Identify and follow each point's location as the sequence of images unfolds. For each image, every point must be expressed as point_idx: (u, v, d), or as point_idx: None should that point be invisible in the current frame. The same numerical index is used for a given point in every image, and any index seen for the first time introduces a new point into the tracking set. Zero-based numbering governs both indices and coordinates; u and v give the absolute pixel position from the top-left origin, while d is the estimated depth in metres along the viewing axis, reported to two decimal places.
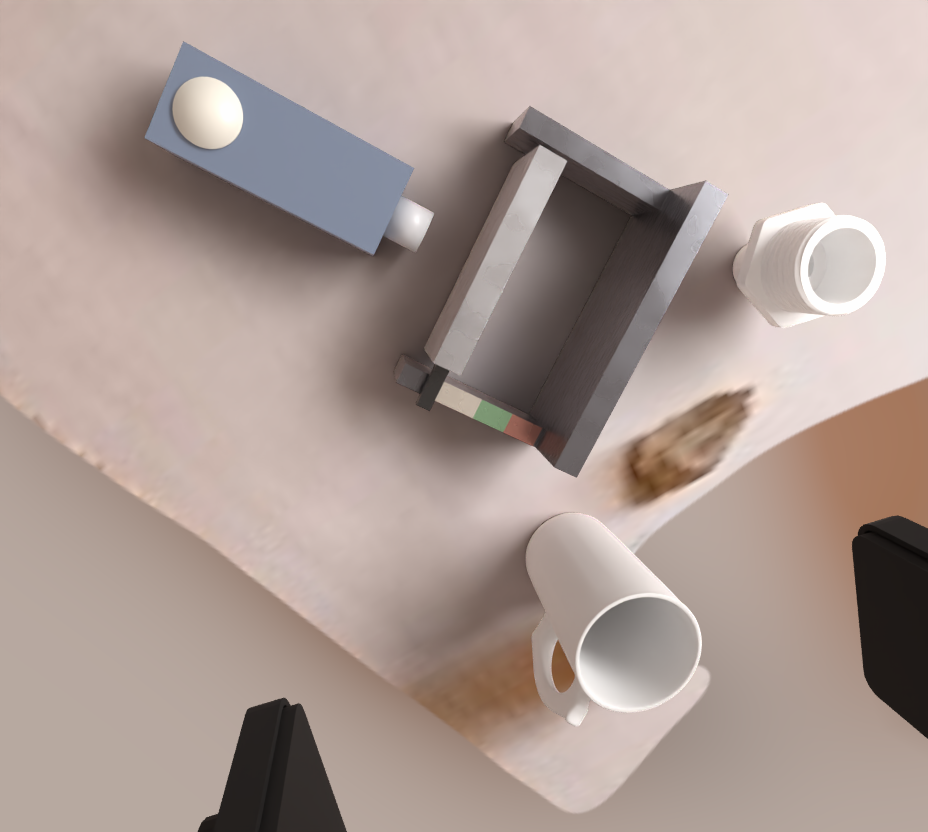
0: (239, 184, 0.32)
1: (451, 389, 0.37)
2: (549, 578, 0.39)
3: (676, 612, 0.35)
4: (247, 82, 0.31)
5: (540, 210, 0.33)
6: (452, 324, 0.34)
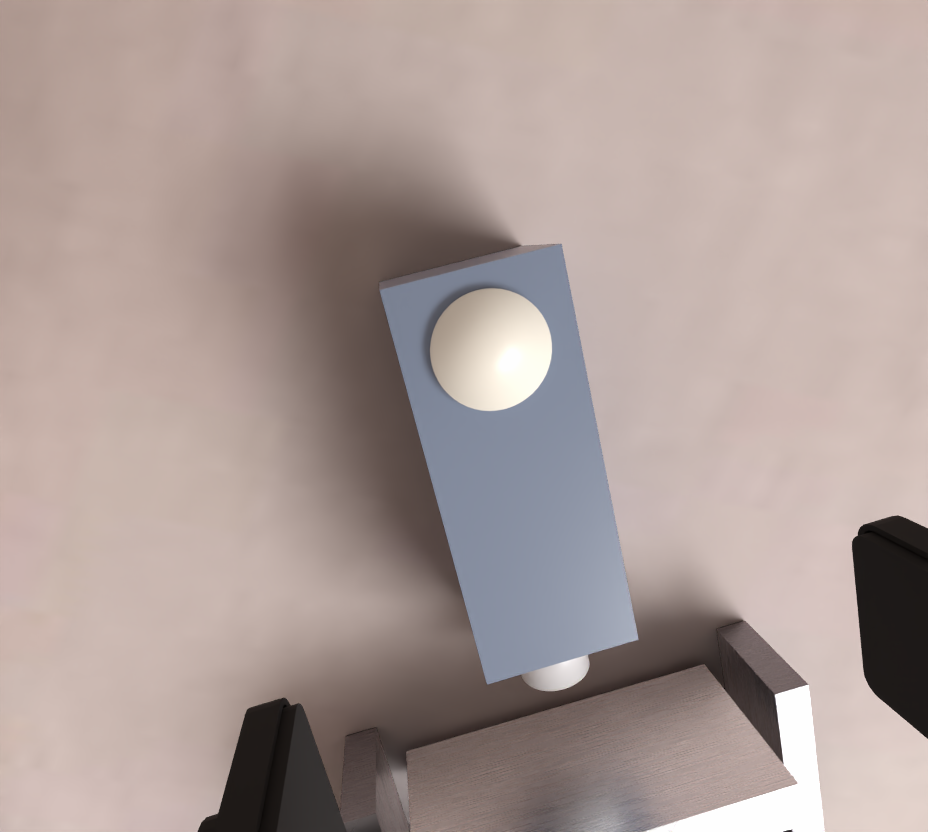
0: (429, 460, 0.18)
1: None
2: None
3: None
4: (576, 365, 0.18)
5: None
6: None
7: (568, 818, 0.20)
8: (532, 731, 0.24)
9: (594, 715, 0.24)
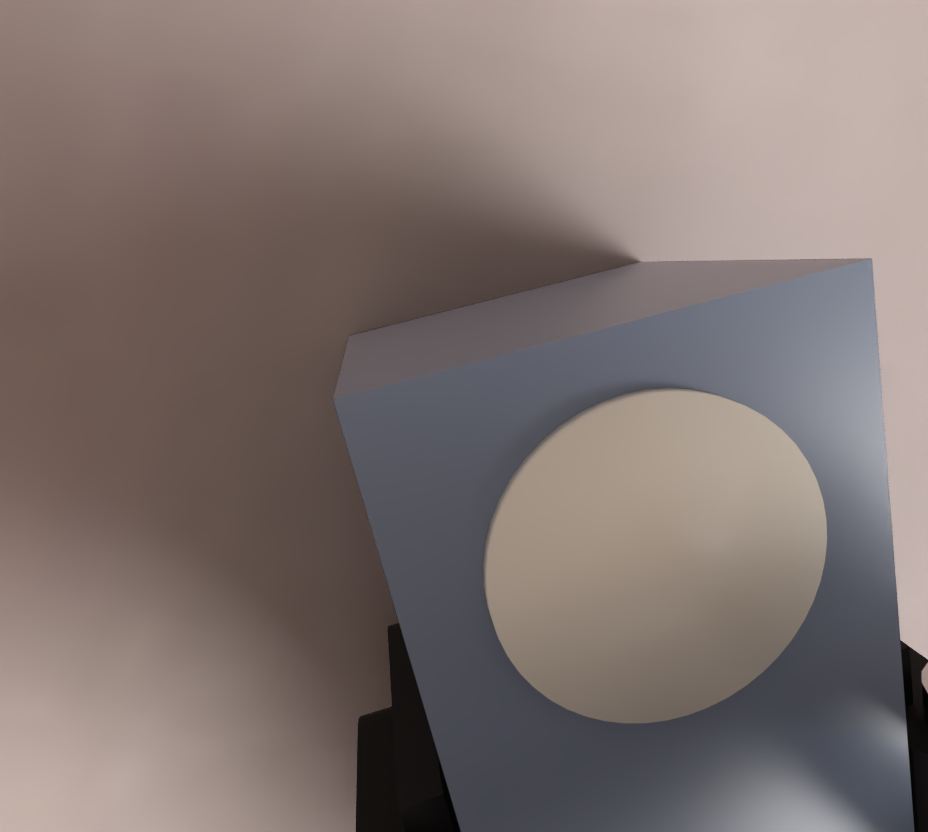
0: None
1: None
2: None
3: None
4: (875, 589, 0.06)
5: None
6: None
7: None
8: None
9: None
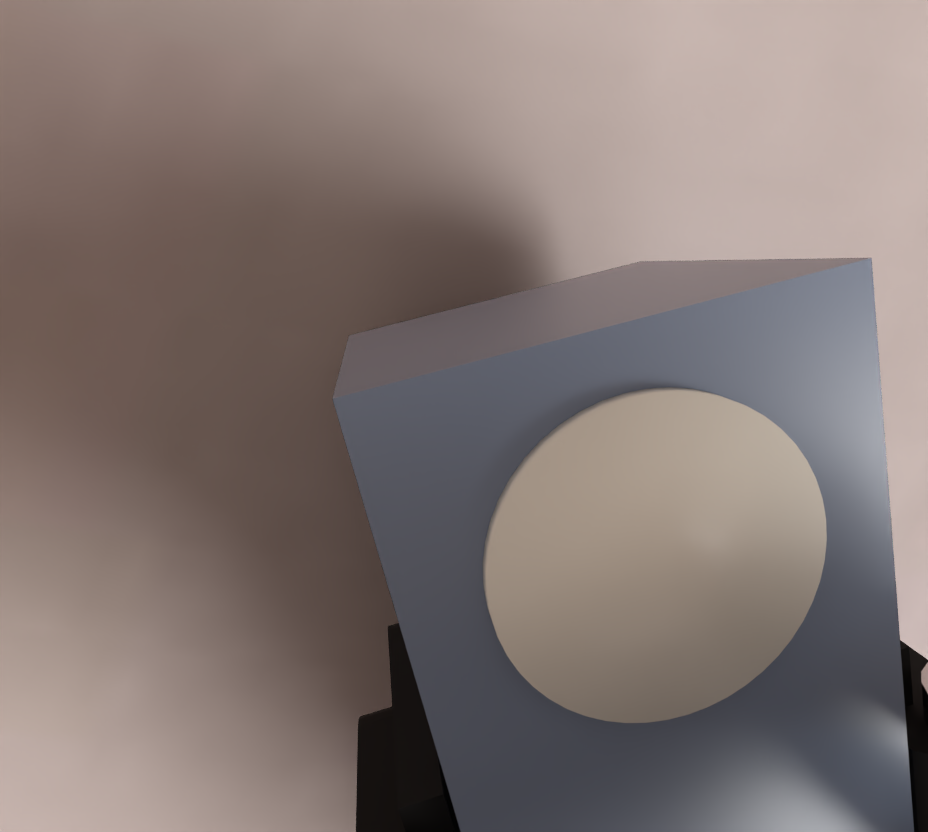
0: None
1: None
2: None
3: None
4: (874, 588, 0.06)
5: None
6: None
7: None
8: None
9: None
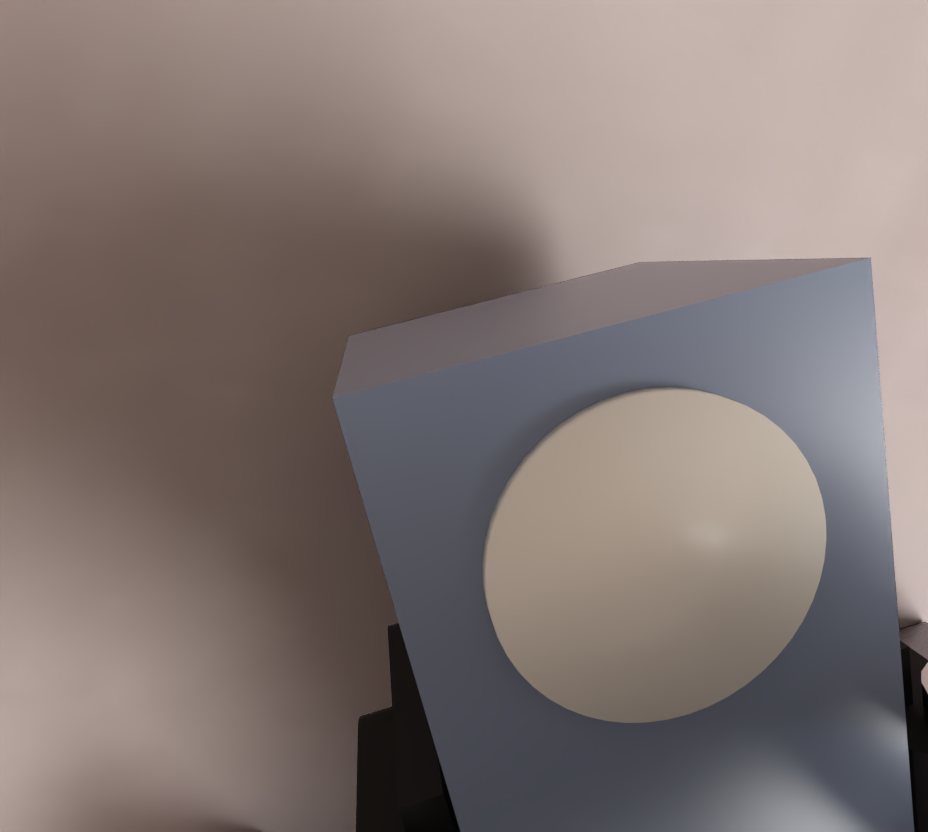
0: None
1: None
2: None
3: None
4: (875, 588, 0.06)
5: None
6: None
7: None
8: None
9: None
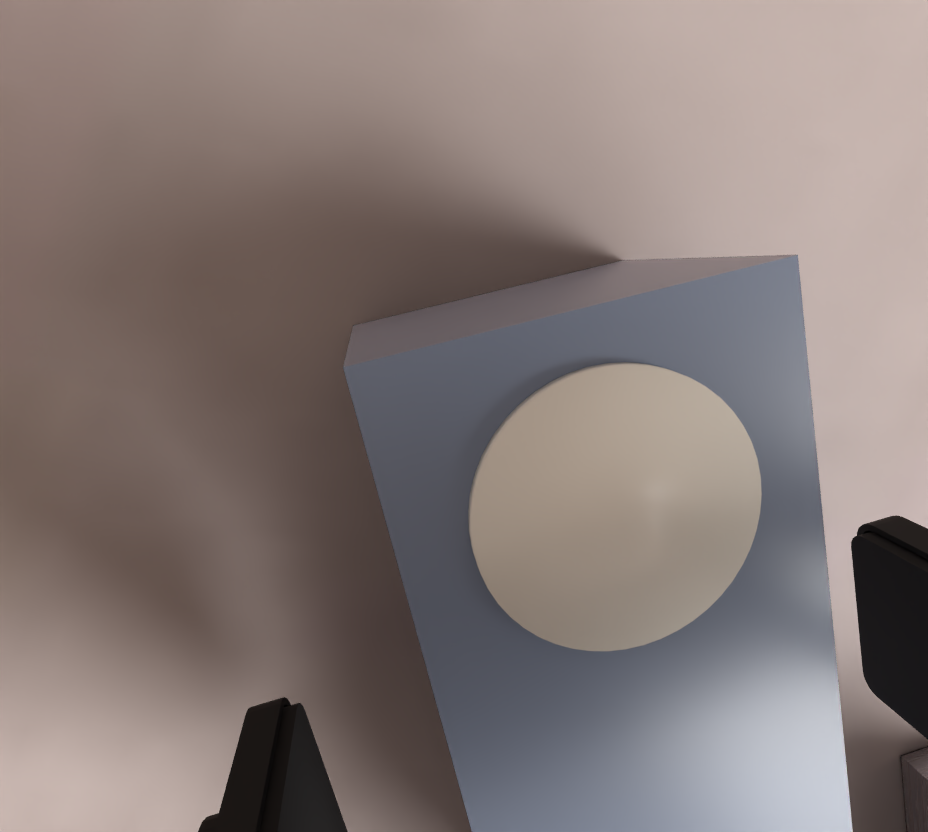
0: (459, 760, 0.07)
1: None
2: None
3: None
4: (806, 539, 0.08)
5: None
6: None
7: None
8: None
9: None
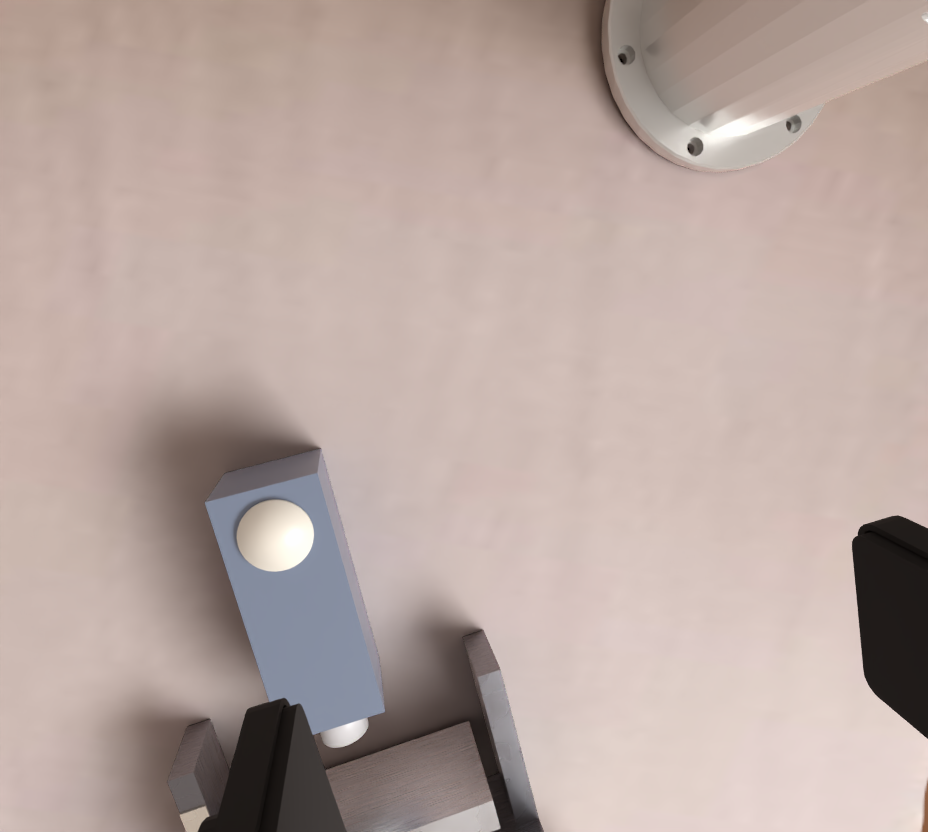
0: (238, 601, 0.28)
1: None
2: None
3: None
4: (331, 542, 0.29)
5: None
6: None
7: None
8: (341, 775, 0.35)
9: (385, 761, 0.35)
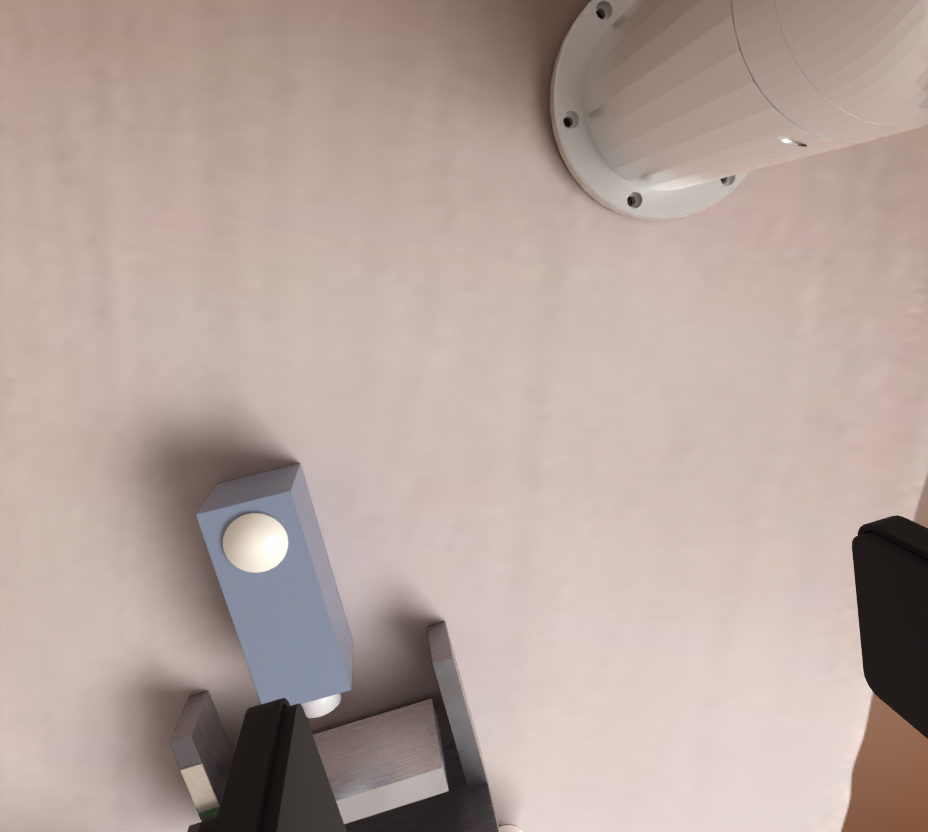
0: (225, 597, 0.34)
1: (204, 780, 0.37)
2: None
3: None
4: (303, 548, 0.34)
5: (401, 804, 0.36)
6: None
7: None
8: (320, 741, 0.40)
9: (357, 731, 0.40)
